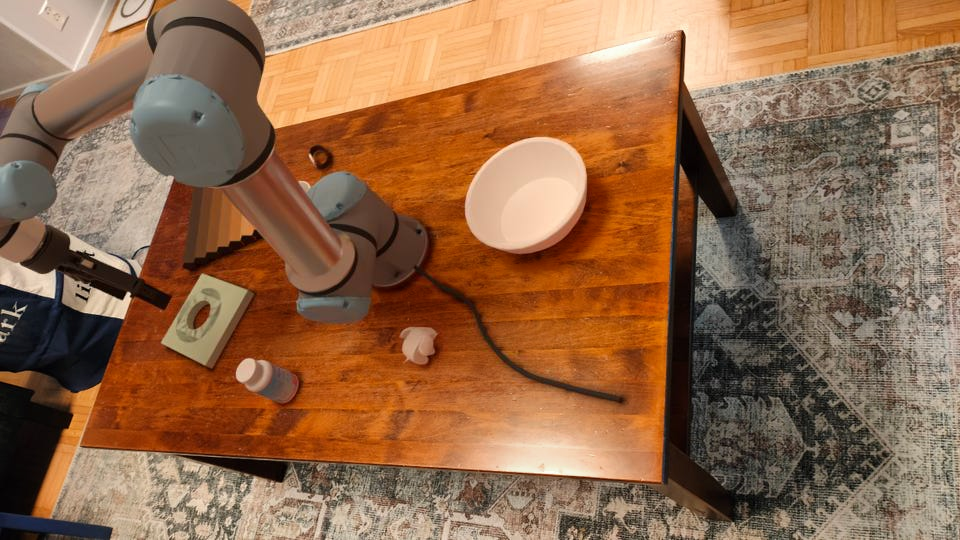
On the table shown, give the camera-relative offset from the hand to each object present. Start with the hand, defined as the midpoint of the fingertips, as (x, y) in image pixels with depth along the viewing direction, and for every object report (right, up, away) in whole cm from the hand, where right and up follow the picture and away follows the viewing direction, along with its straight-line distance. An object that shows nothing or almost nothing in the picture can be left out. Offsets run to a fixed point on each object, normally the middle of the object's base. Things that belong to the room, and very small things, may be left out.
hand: (145, 298), depth 120 cm
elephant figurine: (+52, -9, -4) cm, 53 cm away
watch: (+24, +31, +35) cm, 52 cm away
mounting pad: (+1, -6, +27) cm, 28 cm away
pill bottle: (+24, -18, +7) cm, 31 cm away
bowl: (+72, +15, -2) cm, 74 cm away
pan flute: (0, +19, +42) cm, 46 cm away
